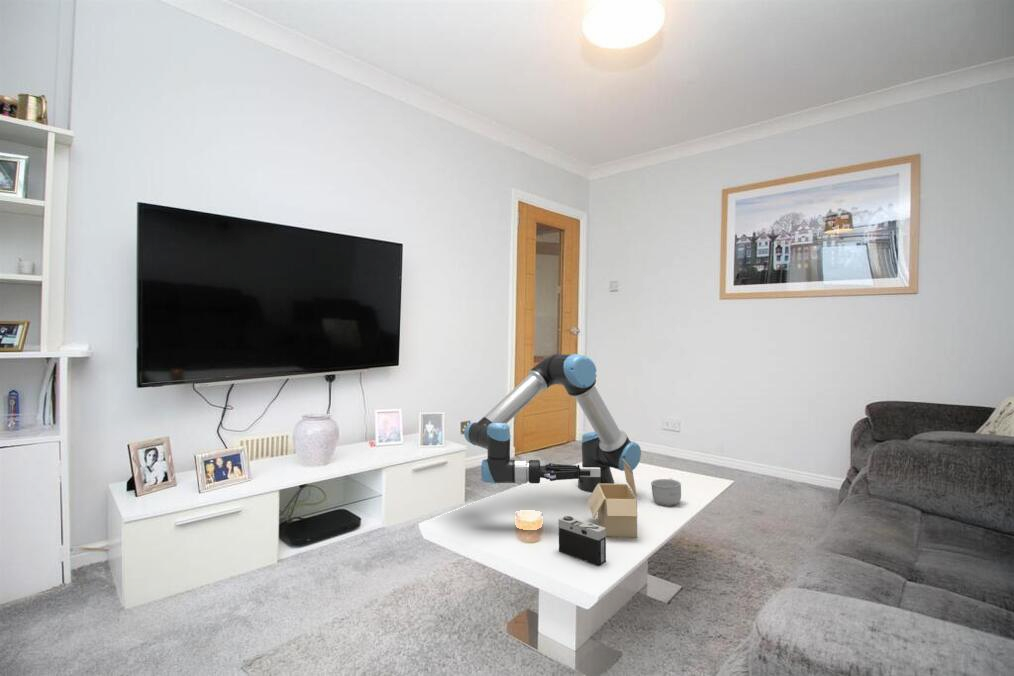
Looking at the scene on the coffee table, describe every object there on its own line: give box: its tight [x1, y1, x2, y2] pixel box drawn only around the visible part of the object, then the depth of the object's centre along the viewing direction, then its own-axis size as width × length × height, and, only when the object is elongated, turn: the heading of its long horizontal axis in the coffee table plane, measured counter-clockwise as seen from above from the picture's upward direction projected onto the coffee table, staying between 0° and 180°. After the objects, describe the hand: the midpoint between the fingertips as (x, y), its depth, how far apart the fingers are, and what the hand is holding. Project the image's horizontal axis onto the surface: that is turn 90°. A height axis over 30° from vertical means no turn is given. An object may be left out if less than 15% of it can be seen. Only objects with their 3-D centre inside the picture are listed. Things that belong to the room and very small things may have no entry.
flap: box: [622, 459, 638, 497], centre depth 160 cm, size 1×16×8 cm, turn 177°
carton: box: [587, 483, 639, 539], centre depth 160 cm, size 14×21×12 cm, turn 177°
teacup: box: [650, 477, 682, 506], centre depth 185 cm, size 14×11×8 cm
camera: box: [558, 515, 607, 567], centre depth 141 cm, size 14×8×10 cm, turn 46°
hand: (600, 472), depth 159 cm, fingers closed
